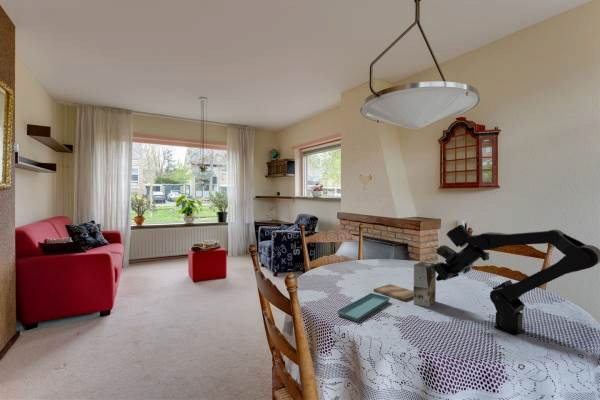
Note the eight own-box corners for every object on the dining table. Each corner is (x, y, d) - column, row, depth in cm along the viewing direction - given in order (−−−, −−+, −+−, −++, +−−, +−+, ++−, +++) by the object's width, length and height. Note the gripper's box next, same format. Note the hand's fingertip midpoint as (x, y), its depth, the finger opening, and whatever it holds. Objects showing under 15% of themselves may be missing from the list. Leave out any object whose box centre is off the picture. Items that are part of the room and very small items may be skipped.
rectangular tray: (357, 324, 103) (357, 316, 103) (336, 316, 109) (336, 310, 109) (390, 303, 123) (390, 297, 123) (370, 298, 129) (370, 292, 129)
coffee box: (429, 307, 117) (429, 267, 116) (413, 304, 121) (413, 264, 120) (435, 301, 124) (436, 263, 123) (420, 297, 128) (420, 261, 128)
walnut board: (420, 295, 130) (420, 292, 130) (404, 301, 123) (404, 298, 123) (389, 286, 143) (389, 284, 143) (373, 291, 136) (373, 288, 136)
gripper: (462, 237, 119) (435, 259, 128) (438, 242, 108) (410, 266, 117) (483, 260, 112) (454, 282, 122) (460, 268, 101) (429, 291, 111)
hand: (437, 279), depth 118 cm, fingers closed
